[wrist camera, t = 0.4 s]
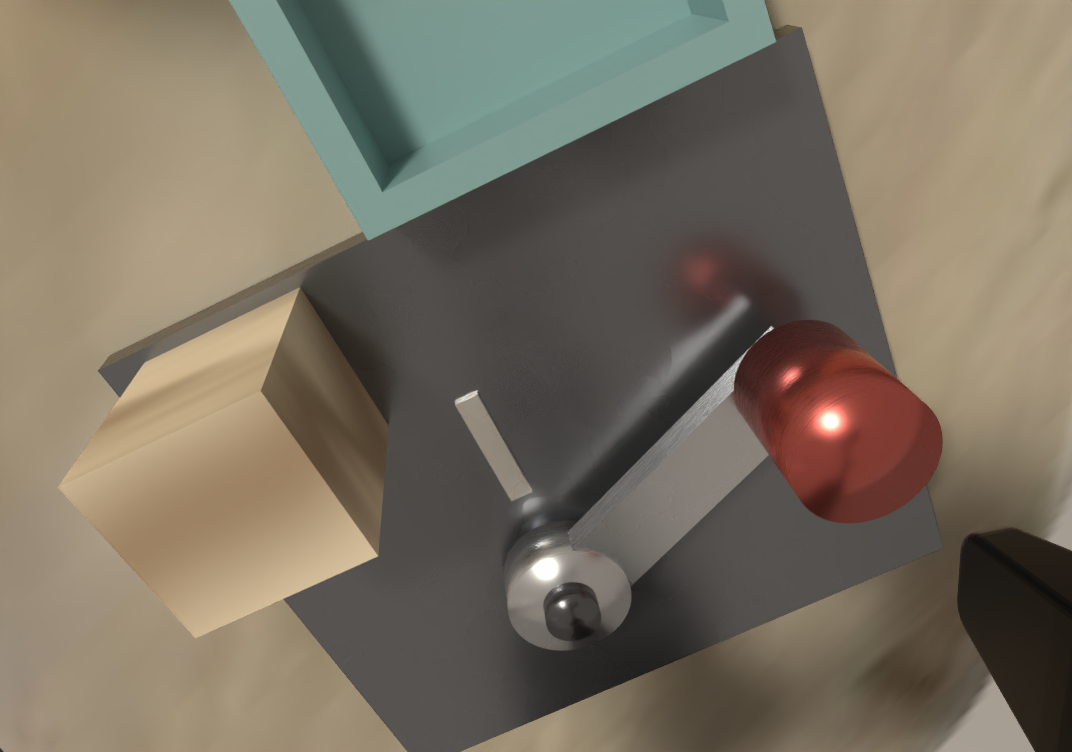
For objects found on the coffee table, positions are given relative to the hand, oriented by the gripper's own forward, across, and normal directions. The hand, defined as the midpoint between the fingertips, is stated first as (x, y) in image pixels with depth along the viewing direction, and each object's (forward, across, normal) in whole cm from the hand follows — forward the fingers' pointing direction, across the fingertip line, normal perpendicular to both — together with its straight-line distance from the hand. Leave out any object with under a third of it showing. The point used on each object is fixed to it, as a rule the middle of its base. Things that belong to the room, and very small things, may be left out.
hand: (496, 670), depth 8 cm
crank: (+12, -4, +6) cm, 14 cm away
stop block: (+12, +5, +2) cm, 13 cm away
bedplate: (+13, -2, +6) cm, 15 cm away
